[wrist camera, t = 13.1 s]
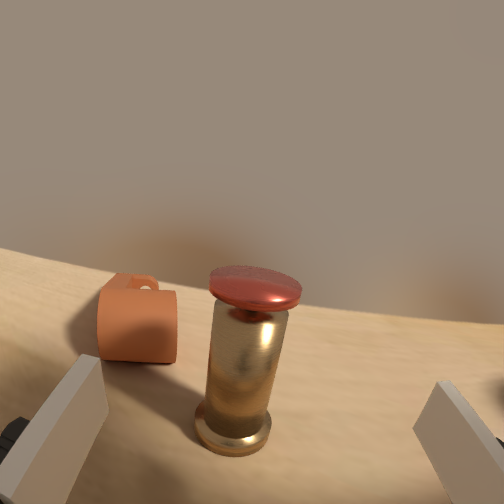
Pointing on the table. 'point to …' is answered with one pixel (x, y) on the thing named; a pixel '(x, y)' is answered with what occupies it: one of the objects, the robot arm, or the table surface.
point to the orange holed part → (136, 320)
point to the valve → (243, 357)
